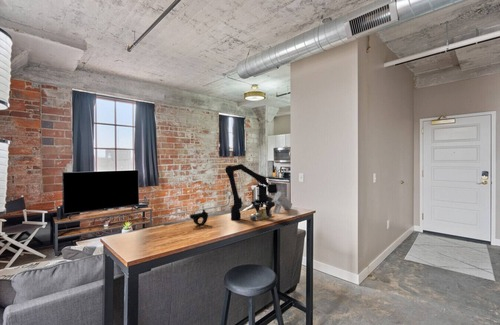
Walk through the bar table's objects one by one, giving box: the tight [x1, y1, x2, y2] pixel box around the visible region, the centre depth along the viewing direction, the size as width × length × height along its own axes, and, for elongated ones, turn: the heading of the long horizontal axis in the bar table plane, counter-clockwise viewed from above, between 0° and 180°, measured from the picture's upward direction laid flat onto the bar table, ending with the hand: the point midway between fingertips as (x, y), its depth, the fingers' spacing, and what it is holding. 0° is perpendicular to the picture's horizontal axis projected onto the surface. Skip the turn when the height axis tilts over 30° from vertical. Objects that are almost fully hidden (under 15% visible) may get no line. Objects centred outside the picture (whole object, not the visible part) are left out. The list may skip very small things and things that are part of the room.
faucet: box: [272, 190, 293, 214], centre depth 203 cm, size 6×16×20 cm
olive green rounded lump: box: [258, 208, 268, 220], centre depth 180 cm, size 6×4×6 cm, turn 133°
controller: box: [189, 209, 209, 226], centre depth 164 cm, size 4×12×10 cm, turn 122°
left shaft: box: [249, 212, 259, 222], centre depth 176 cm, size 6×4×5 cm, turn 121°
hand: (262, 214), depth 180 cm, fingers open, 9 cm apart
